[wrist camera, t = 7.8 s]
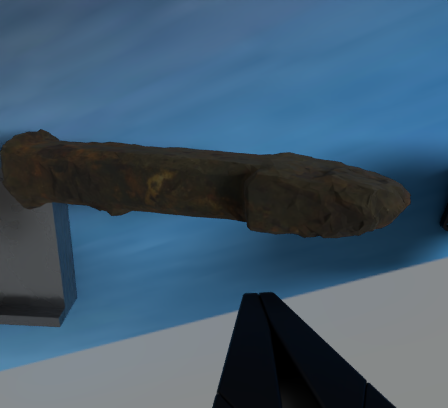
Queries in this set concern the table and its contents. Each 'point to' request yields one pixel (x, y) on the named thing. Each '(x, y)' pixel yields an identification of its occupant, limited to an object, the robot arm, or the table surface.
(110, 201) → the hand tool
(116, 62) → the table surface
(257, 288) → the table surface
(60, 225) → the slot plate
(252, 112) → the table surface
